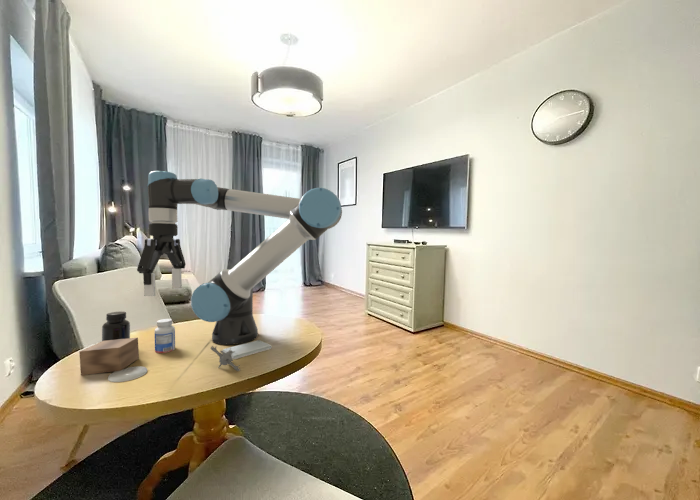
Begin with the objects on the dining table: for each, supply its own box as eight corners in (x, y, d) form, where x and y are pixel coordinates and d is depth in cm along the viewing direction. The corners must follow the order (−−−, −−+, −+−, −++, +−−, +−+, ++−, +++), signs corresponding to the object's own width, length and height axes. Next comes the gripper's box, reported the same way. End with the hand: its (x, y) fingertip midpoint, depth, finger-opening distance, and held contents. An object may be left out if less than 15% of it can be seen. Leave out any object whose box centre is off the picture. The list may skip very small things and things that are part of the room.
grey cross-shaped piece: (248, 360, 86) (247, 361, 78) (233, 378, 83) (229, 381, 75) (222, 338, 86) (217, 337, 78) (206, 356, 84) (199, 356, 75)
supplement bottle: (114, 356, 87) (114, 316, 87) (96, 354, 89) (95, 315, 88) (135, 348, 94) (135, 311, 94) (118, 346, 95) (117, 309, 95)
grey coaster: (154, 369, 79) (154, 366, 79) (132, 383, 71) (132, 380, 71) (124, 369, 79) (124, 366, 79) (99, 383, 71) (99, 380, 71)
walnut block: (138, 358, 85) (137, 337, 85) (120, 370, 76) (119, 347, 76) (103, 362, 83) (102, 340, 83) (80, 375, 75) (79, 351, 74)
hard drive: (258, 339, 101) (222, 348, 92) (271, 345, 95) (234, 355, 86) (258, 344, 101) (222, 353, 92) (271, 350, 95) (234, 361, 86)
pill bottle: (161, 348, 95) (161, 317, 94) (178, 348, 95) (178, 317, 94) (150, 354, 89) (150, 322, 89) (168, 354, 89) (168, 322, 89)
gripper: (174, 225, 103) (175, 285, 104) (120, 220, 78) (121, 299, 79) (196, 225, 103) (196, 285, 104) (148, 220, 78) (149, 299, 79)
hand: (164, 292), depth 91 cm, fingers open, 13 cm apart
